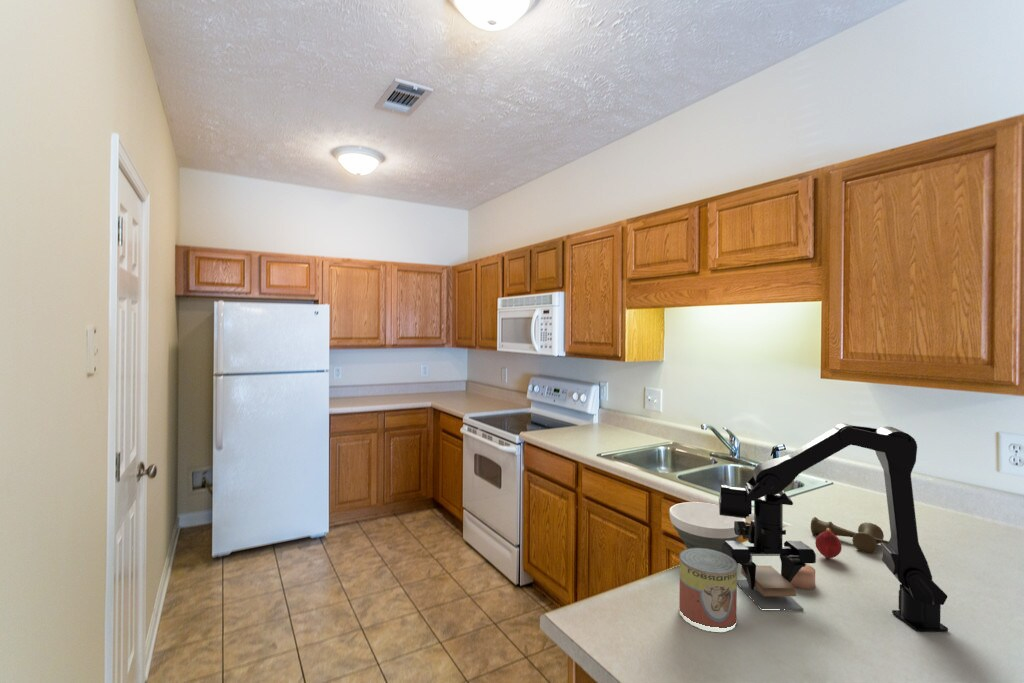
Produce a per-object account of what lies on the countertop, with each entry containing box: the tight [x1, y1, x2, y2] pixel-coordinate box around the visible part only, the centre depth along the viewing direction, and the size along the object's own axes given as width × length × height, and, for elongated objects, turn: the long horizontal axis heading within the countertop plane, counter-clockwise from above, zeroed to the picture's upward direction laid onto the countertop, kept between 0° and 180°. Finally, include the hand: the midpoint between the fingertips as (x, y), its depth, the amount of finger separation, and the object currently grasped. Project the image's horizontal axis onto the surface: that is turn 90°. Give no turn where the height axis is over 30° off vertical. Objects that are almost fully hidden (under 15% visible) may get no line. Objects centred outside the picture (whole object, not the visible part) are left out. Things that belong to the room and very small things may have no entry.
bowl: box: [669, 501, 746, 553], centre depth 132 cm, size 20×20×10 cm
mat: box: [737, 579, 804, 611], centre depth 108 cm, size 12×9×1 cm
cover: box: [740, 565, 797, 597], centre depth 108 cm, size 10×7×2 cm
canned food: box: [678, 548, 738, 628], centre depth 100 cm, size 11×11×12 cm
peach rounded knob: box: [790, 563, 816, 590], centre depth 114 cm, size 6×6×4 cm
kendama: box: [810, 516, 889, 554], centre depth 135 cm, size 6×10×20 cm
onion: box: [814, 528, 843, 560], centre depth 126 cm, size 6×6×8 cm
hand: (767, 589), depth 108 cm, fingers closed on cover, 7 cm apart
